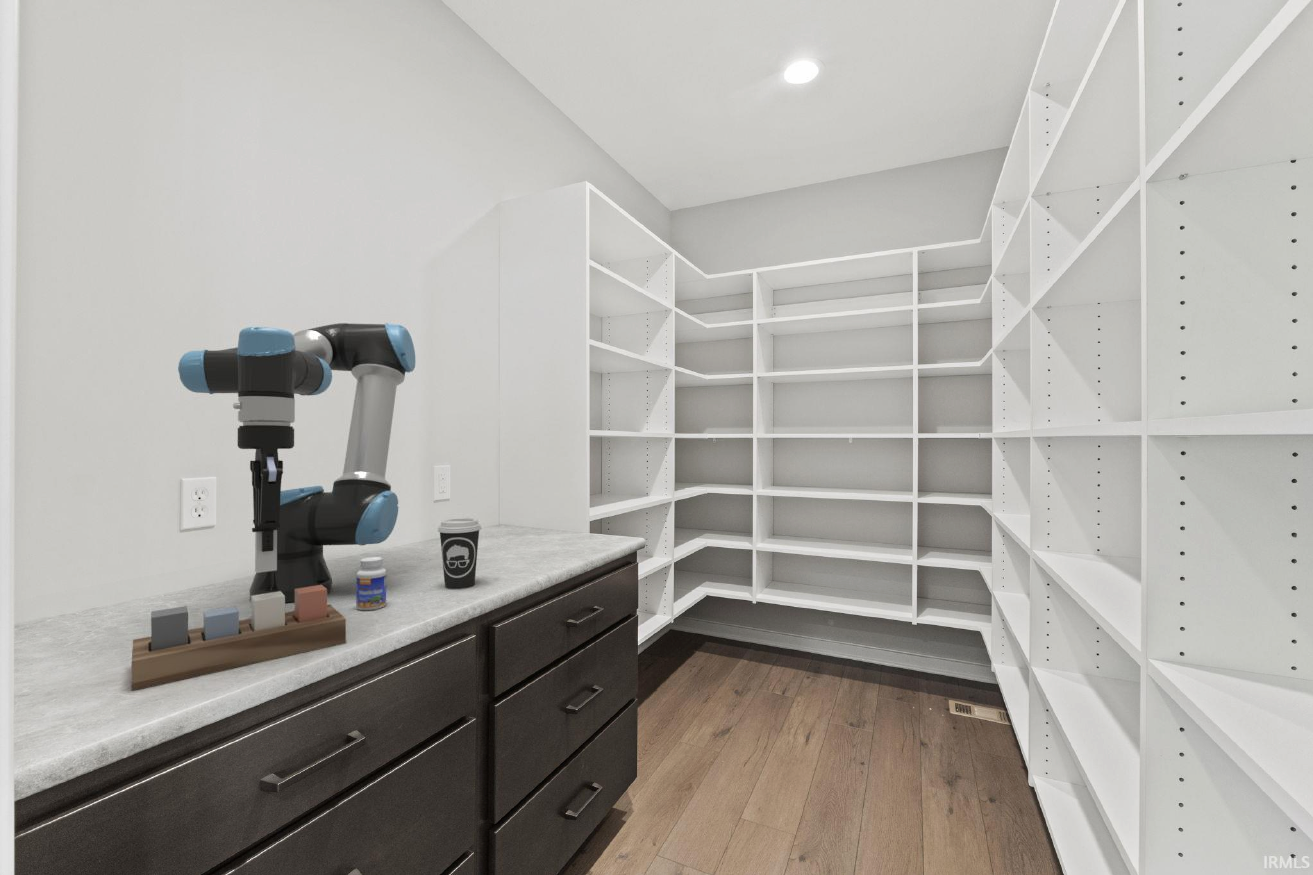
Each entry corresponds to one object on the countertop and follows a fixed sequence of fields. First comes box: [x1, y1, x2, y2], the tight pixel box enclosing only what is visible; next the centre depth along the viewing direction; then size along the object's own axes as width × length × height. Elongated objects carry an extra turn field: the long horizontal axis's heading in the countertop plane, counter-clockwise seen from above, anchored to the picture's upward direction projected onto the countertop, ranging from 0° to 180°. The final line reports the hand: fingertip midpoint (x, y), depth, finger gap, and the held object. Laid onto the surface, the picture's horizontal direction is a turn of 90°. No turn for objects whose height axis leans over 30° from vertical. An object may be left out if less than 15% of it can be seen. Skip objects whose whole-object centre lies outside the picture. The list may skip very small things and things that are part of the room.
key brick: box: [294, 585, 328, 623], centre depth 94 cm, size 4×4×5 cm
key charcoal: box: [150, 605, 189, 651], centre depth 82 cm, size 4×4×5 cm
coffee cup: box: [437, 517, 482, 590], centre depth 129 cm, size 10×10×15 cm
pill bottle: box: [355, 556, 387, 611], centre depth 113 cm, size 5×5×10 cm
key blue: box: [203, 605, 240, 641], centre depth 86 cm, size 4×4×5 cm
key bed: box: [131, 603, 347, 692], centre depth 88 cm, size 11×26×4 cm, turn 132°
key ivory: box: [250, 591, 286, 631], centre depth 90 cm, size 4×4×5 cm
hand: (266, 570), depth 90 cm, fingers closed
